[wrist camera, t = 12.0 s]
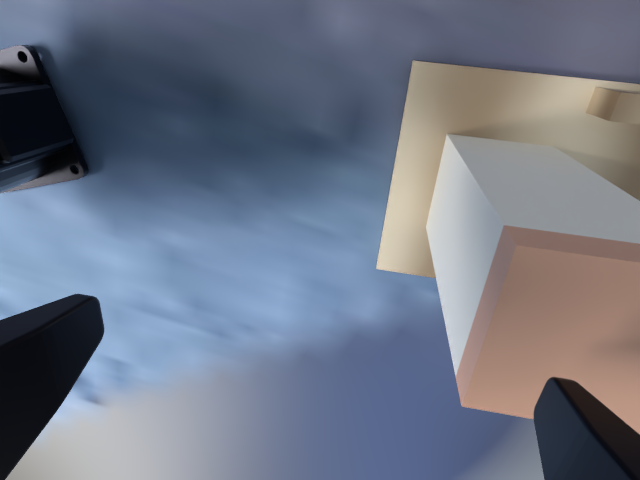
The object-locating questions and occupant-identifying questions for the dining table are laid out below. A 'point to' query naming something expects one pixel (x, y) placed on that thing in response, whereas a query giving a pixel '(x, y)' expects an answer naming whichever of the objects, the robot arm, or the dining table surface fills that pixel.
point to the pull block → (535, 276)
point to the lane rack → (500, 138)
